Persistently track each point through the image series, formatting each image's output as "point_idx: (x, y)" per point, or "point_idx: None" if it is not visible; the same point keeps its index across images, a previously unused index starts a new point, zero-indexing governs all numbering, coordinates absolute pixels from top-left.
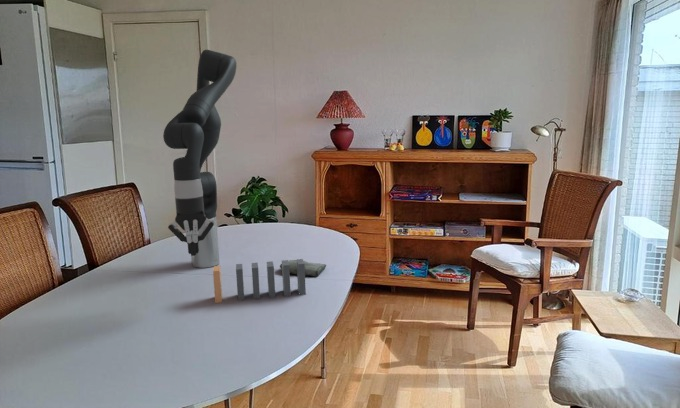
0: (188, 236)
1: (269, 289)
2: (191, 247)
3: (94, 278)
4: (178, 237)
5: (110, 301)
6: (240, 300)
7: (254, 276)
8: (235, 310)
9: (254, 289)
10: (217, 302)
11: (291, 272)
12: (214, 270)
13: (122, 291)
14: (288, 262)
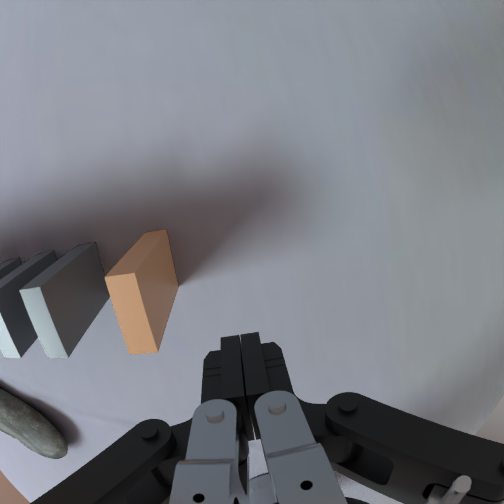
0: (289, 442)
1: (3, 267)
2: (255, 368)
3: (490, 394)
4: (394, 413)
5: (476, 270)
6: (88, 243)
7: (7, 280)
8: (85, 156)
9: (34, 261)
10: (159, 230)
11: (27, 406)
12: (131, 285)
13: (456, 335)
14: (41, 441)
